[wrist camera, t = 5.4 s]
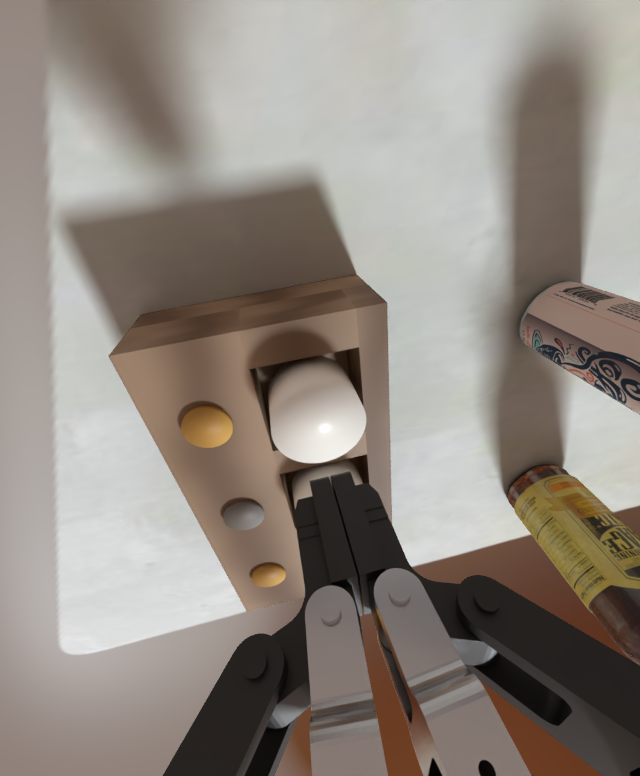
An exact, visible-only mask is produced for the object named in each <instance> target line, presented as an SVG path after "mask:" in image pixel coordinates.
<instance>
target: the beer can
mask: <svg viewBox="0 0 640 776" xmlns="http://www.w3.org/2000/svg"><path fill="white" fill-rule="evenodd" d="M520 337H521V340H522V342H523V343H524V344H525V345H526V346H527V347H528V348H530V349H532V350H535V351H537V352H538V353H540V354H541V355H543V356H545V357H546V358H548V359H550V360H551V361H553V362H555V363H556V364H558V365H559V366H561V367H563V368H564V369H566V370H568V371H569V372H571V373H572V374H574V375H576V376H577V377H579V378H581V379H582V380H584V381H586V382H587V383H589V384H590V385H592V386H594V387H595V388H597V389H599V390H600V391H602V392H604V393H605V394H607V395H608V396H610V397H612V398H613V399H615V400H617V401H618V402H620V403H621V404H623V405H625V406H626V407H628V408H630V409H631V410H633V411H635V412H636V413H638V414H639V415H640V302H637V301H634V300H631V299H628V298H625V297H622V296H618V295H615V294H612V293H609V292H606V291H603V290H600V289H597V288H594V287H591V286H588V285H585V284H582V283H578V282H574V281H566V282H561V283H558V284H555V285H553V286H551V287H549V288H547V289H546V290H544V291H543V292H541V293H540V294H539V295H538V296H537V297H536V298H535V299H534V300H533V301H532V302H531V304H530V305H529V306H528V308H527V309H526V311H525V313H524V316H523V318H522V320H521V324H520Z"/></svg>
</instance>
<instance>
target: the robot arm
mask: <svg viewBox="0 0 640 776" xmlns="http://www.w3.org/2000/svg"><path fill="white" fill-rule="evenodd" d="M330 479H331V482H330ZM309 482H310V486H311V491H312V496H311V497H307V498H303V499H299V500H298V501H297V505H296V508H295V512H294V517H295V524H296V530H297V538H298V544H299V551H300V558H301V565H302V571H303V578H304V585H305V598H304V602H303V605H302V608H301V610H300V612H299V613H298V614H297V616H296V617H295V618H294V619H293V620H292V621H291V622H290V623H289V624H287V625H286V626H284V627H283V628H282V629H280V630H279V631H277V632H276V633H275V634H273V635H272V636H270V635H267V634H255V635H253V636H250V637H248V638H247V639H245V640H244V641H243V642H242V643H241V644H240V645H239V646H238V647H237V649H236V651H235V652H234V653H233V655H232V657H231V659H230V661H229V662H228V664H227V665H226V667H225V669H224V671H223V672H222V674H221V676H220V678H219V679H218V681H217V683H216V684H215V686H214V688H213V690H212V691H211V693H210V695H209V697H208V698H207V700H206V702H205V703H204V705H203V707H202V709H201V711H200V712H199V714H198V716H197V718H196V719H195V721H194V723H193V724H192V726H191V728H190V730H189V731H188V733H187V735H186V736H185V738H184V740H183V742H182V743H181V745H180V747H179V748H178V750H177V752H176V754H175V756H174V757H173V759H172V761H171V762H170V764H169V766H168V768H167V769H166V771H165V773H164V774H163V776H274V775H275V773H276V770H277V768H278V765H279V763H280V760H281V758H282V756H283V753H284V750H285V748H286V746H287V743H288V741H289V738H290V736H291V733H292V730H293V728H294V726H295V723H296V721H297V718H298V716H299V715H300V714H301V713H302V712H303V711H305V710H306V709H307V708H308V707H309V706H311V720H310V746H311V762H312V776H388V774H387V768H386V763H385V758H384V752H383V747H382V742H381V736H380V731H379V726H378V721H377V715H376V711H375V706H374V701H373V696H372V691H371V686H370V680H369V676H368V670H367V665H366V659H365V654H364V647H363V646H364V645H363V637H362V630H361V622H360V616H362V609H361V604H362V608H363V611H364V615H365V614H369V613H372V616H373V619H374V623H375V626H376V630H377V637H378V642H379V645H380V648H381V651H382V653H383V656H384V659H385V662H386V665H387V668H388V670H389V673H390V676H391V679H392V681H393V684H394V687H395V690H396V693H397V695H398V698H399V701H400V704H401V707H402V709H403V712H404V715H405V718H406V721H407V724H408V727H409V731H410V735H411V739H412V742H413V746H414V749H415V752H416V755H417V758H418V761H419V764H420V767H421V770H422V772H423V775H424V776H532V775H531V774H530V773H529V771H528V769H527V767H526V765H525V763H524V761H523V759H522V758H521V756H520V754H519V752H518V750H517V748H516V746H515V745H514V743H513V741H512V739H511V737H510V735H509V733H508V732H507V729H506V728H505V726H504V724H503V722H502V720H501V718H500V716H499V715H498V713H497V711H496V709H495V707H494V705H493V703H492V701H491V700H490V698H489V696H488V694H487V692H486V690H485V689H484V687H483V685H482V684H481V683H480V681H479V680H481V681H482V682H483V683H485V684H486V685H487V686H488V687H490V688H491V689H492V690H494V691H495V692H496V693H497V694H499V695H500V696H501V697H503V698H504V699H505V700H506V701H508V702H509V703H510V704H512V705H513V706H514V707H515V708H517V709H518V710H519V711H521V712H522V713H523V714H524V715H526V716H527V717H528V718H530V719H531V720H532V721H533V722H535V723H536V724H537V725H539V726H540V727H542V728H543V729H544V730H545V731H546V732H548V733H549V734H550V735H551V736H553V737H554V738H555V739H557V740H558V741H559V742H561V743H562V744H563V745H564V746H566V747H567V748H568V749H569V750H571V751H572V752H573V753H575V754H576V755H577V756H578V757H580V758H581V759H582V760H584V761H585V762H586V763H587V764H589V765H590V766H591V767H593V768H594V769H595V770H597V771H598V772H599V773H600V774H602V775H603V776H640V665H638V664H636V663H635V662H633V661H631V660H630V659H628V658H626V657H624V656H623V655H621V654H619V653H618V652H616V651H614V650H613V649H611V648H609V647H607V646H605V645H604V644H602V643H601V642H599V641H597V640H596V639H594V638H592V637H590V636H589V635H587V634H585V633H584V632H582V631H580V630H579V629H577V628H575V627H574V626H572V625H570V624H568V623H567V622H565V621H563V620H562V619H560V618H558V617H557V616H555V615H553V614H551V613H550V612H548V611H546V610H545V609H543V608H541V607H540V606H538V605H536V604H535V603H533V602H531V601H529V600H527V599H526V598H524V597H523V596H521V595H519V594H517V593H516V592H514V591H512V590H510V589H509V588H507V587H506V586H504V585H502V584H500V583H499V582H497V581H495V580H493V579H492V578H489V577H486V576H482V575H474V576H470V577H467V578H466V579H464V581H462V583H461V584H453V583H442V582H435V581H431V580H428V579H426V578H423V577H422V576H420V575H419V574H418V573H416V572H415V571H414V570H413V569H412V568H411V566H410V565H409V563H408V561H407V559H406V557H405V554H404V552H403V550H402V547H401V545H400V543H399V540H398V538H397V536H396V533H395V531H394V529H393V526H392V524H391V522H390V519H389V517H388V514H387V512H386V510H385V508H384V505H383V503H382V500H381V498H380V496H379V493H378V492H377V491H376V490H375V489H374V488H373V487H372V486H371V485H370V484H369V483H364V484H360V485H356V486H355V483H354V480H353V478H352V475H351V472H350V471H348V472H344V473H339V474H335V475H331V476H330V478H329V476H327V477H323V478H319V479H315V480H311V481H309Z"/></svg>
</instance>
